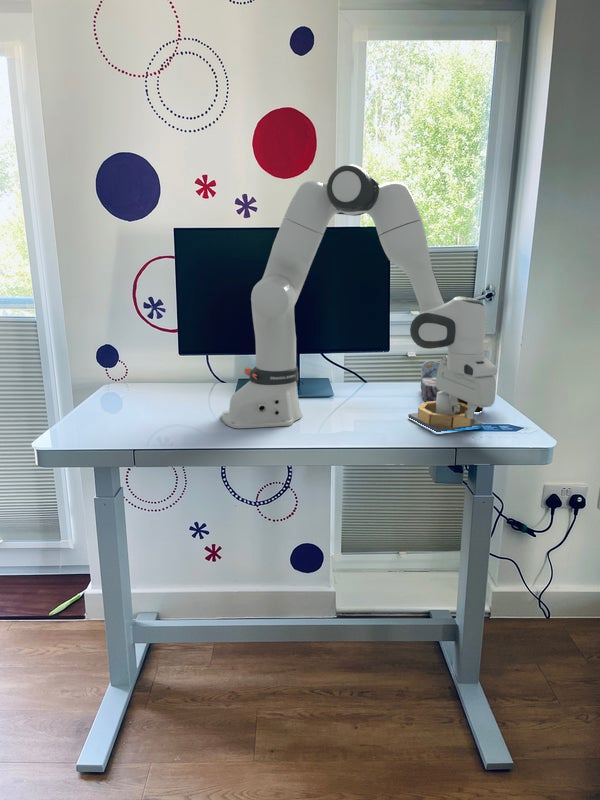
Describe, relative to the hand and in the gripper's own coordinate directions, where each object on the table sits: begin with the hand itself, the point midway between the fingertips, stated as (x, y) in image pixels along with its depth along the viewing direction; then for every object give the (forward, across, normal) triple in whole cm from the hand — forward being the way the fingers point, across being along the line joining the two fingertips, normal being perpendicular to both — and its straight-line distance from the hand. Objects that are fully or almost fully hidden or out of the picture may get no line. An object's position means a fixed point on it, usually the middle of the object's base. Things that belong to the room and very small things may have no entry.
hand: (461, 414), depth 150 cm
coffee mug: (+5, -14, +15) cm, 21 cm away
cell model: (+5, -29, +12) cm, 32 cm away
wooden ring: (+3, -7, 0) cm, 8 cm away
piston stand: (+5, -7, 0) cm, 9 cm away
